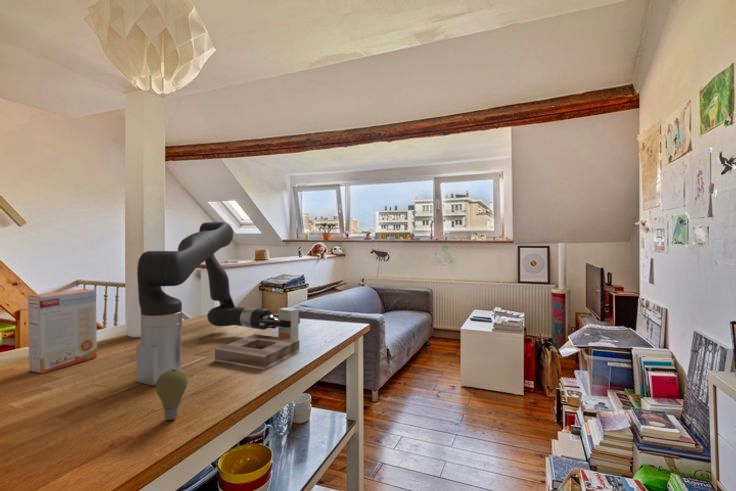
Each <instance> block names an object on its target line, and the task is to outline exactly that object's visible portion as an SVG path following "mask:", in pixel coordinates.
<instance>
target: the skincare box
mask: <svg viewBox="0 0 736 491" xmlns="http://www.w3.org/2000/svg"><path fill="white" fill-rule="evenodd" d="M299 313H300V311H299V308H295V307H294V308H293V307H282V308H278V315H279V320H285V321H290V322H291V327H289V328H286V327H279V328H278V327H277V328H278V333H277V334H278V336H277V337H280V338H288V339H295V340H299V324H298V322H299V318H300V316H299Z"/></svg>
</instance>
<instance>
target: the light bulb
mask: <svg viewBox="0 0 736 491" xmlns="http://www.w3.org/2000/svg"><path fill="white" fill-rule="evenodd" d="M187 387H188V378H187V375H186V373H184V372H183V371H182V370H181V371H180V370H177V369H171V370H168V371H166V372H164V373H163V374H162V375H161V376H160V377H159V378H158V380H157V382H156V385H155V392H156V394H157V396H158V398H159V400H160V401H161V403H162V407H163V409H164V419H166V420H168V421H173V420H174V419H176V418H177V417H178V415H179V406H180V405H181V401H182V398H183V395H184V393H185V391H186V389H187Z"/></svg>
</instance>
